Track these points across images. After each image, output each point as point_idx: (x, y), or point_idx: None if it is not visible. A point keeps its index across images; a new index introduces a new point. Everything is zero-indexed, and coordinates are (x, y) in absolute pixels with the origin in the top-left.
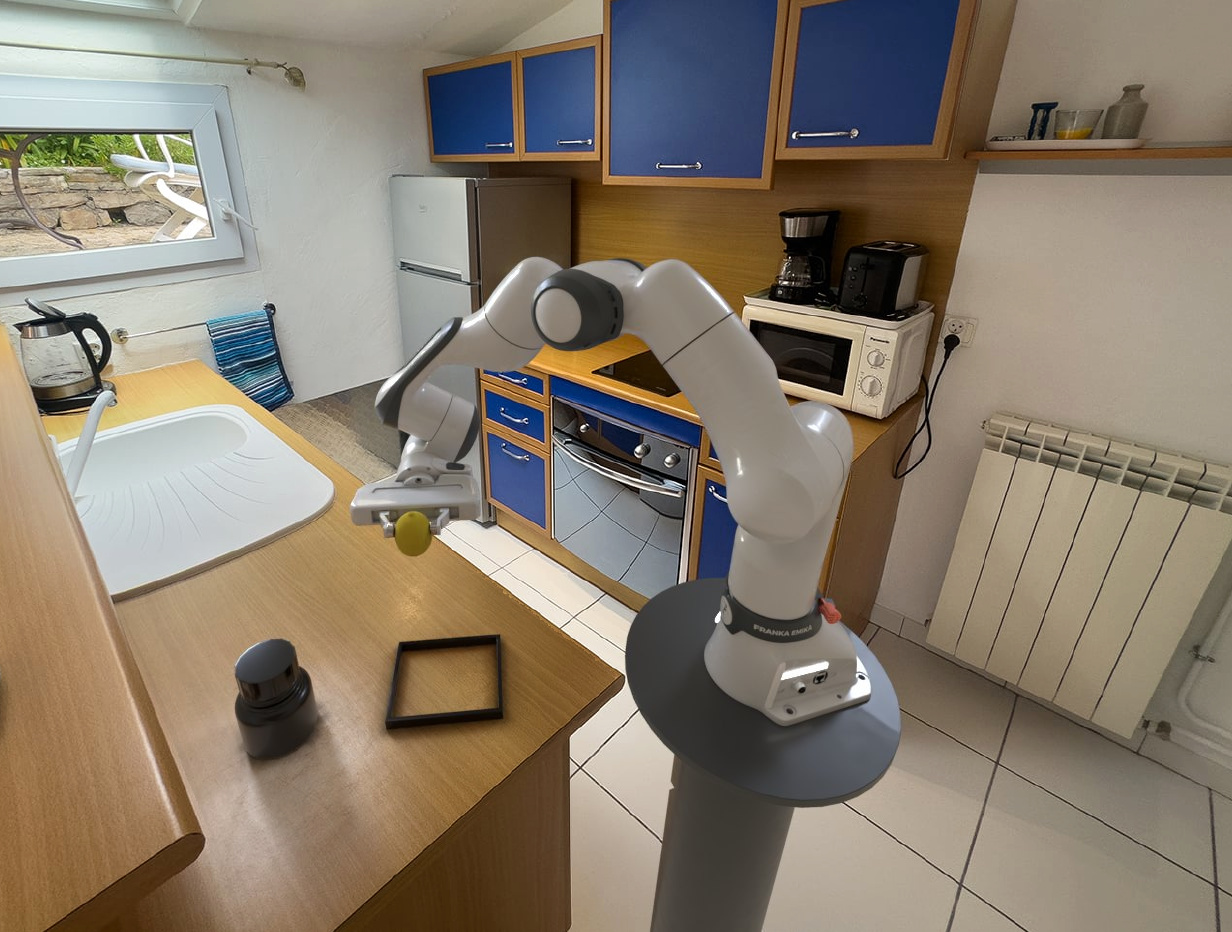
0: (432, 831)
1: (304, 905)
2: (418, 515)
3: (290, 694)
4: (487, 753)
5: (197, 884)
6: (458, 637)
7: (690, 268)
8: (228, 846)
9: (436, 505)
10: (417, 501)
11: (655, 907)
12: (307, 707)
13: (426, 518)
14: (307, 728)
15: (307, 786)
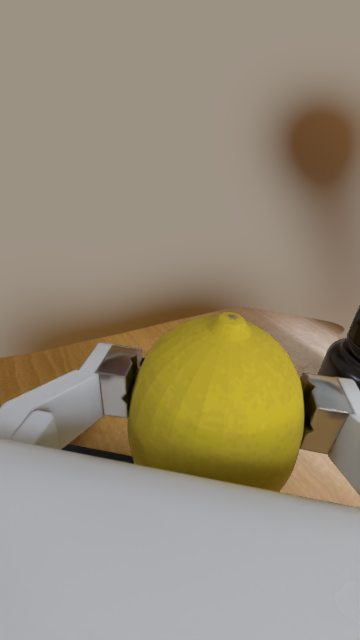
0: (187, 319)
1: (261, 312)
2: (189, 327)
3: (347, 340)
4: (134, 344)
5: (336, 331)
6: (120, 459)
7: None
8: (331, 341)
9: (45, 448)
10: (190, 516)
11: None
12: (323, 361)
13: (148, 362)
14: None
15: (291, 358)
